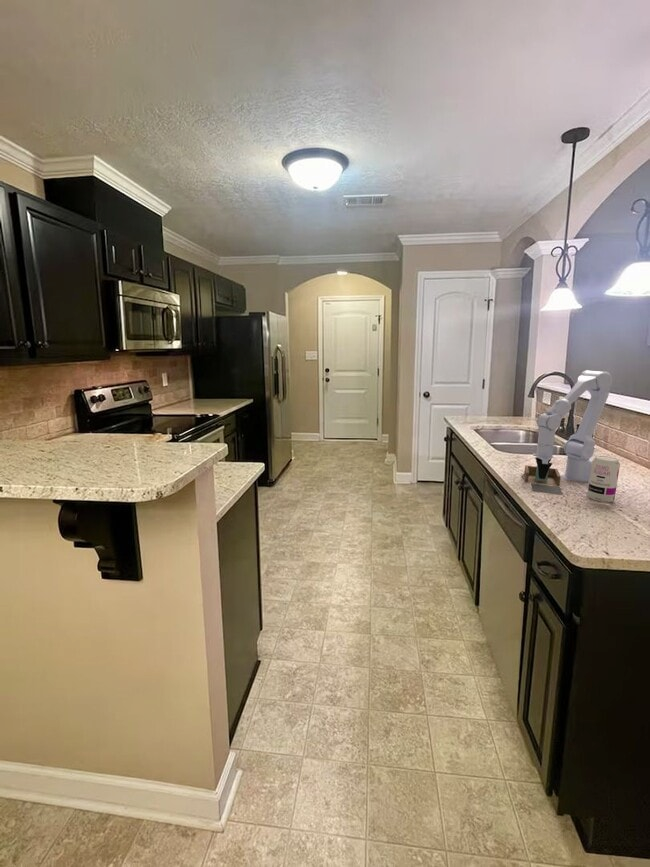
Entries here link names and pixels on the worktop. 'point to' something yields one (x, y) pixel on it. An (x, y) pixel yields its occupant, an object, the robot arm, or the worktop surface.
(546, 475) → the block
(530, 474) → the walnut box
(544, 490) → the slate mat
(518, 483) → the worktop surface
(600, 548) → the worktop surface
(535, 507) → the worktop surface
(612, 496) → the supplement can
